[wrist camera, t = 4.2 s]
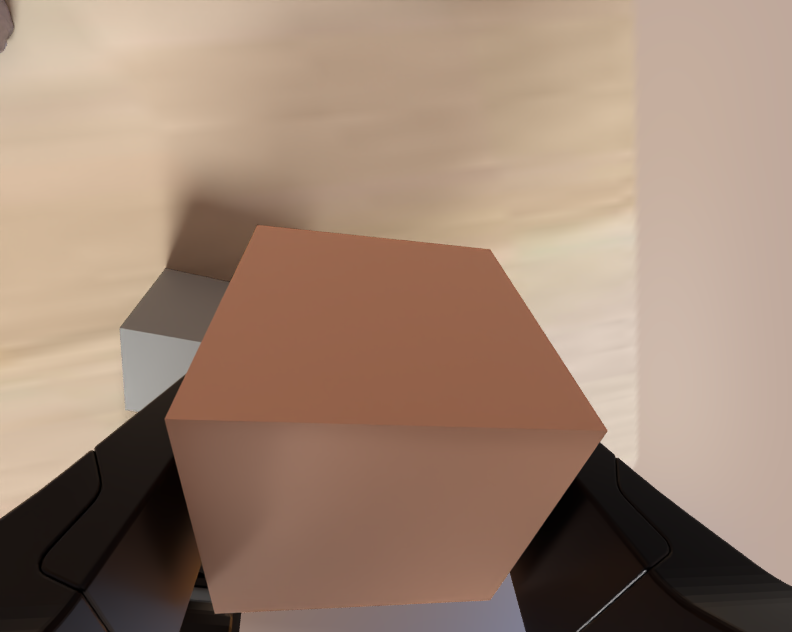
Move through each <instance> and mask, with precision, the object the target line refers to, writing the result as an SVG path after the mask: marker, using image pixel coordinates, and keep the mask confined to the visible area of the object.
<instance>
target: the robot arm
mask: <svg viewBox="0 0 792 632" xmlns="http://www.w3.org/2000/svg"><path fill="white" fill-rule="evenodd" d="M185 375H186V374H185ZM185 375H184V376H182V377H181V378H180V379H179V380H177V381H176V382H175V383H174V384H172V385H171V386H170V387H169V388H168V389H166V390H165V391H164V392H163V393H161V394H160V395H159V396H158V397H156V398H155V399H154V400H153V401H151V402H150V403H149V404H148V405H146V406H145V407H144V408H143V409H141V410H140V411H139V412H138V413H136V414H135V415H134V416H133V417H132V418H130V419H129V420H128V421H127V422H125V423H124V424H123V425H122V426H120V427H119V428H118V429H117V430H115V431H114V432H113V433H112V434H110V435H109V436H108V437H107V438H105V439H104V440H103V441H102V442H101V443H99V444H98V445H97V446H96V447H95V448H94V450H95V451H93V450H91V451H89V452H88V453H87V454H85V455H84V456H83V457H82V458H80V459H79V460H78V461H77V462H75V463H74V464H73V465H72V466H70V467H69V468H68V469H67V470H65V471H64V472H63V473H61V474H60V475H59V476H58V477H56V478H55V479H54V480H52V481H51V482H50V483H48V484H47V485H46V486H45V487H43V488H42V489H41V490H39V491H38V492H37V493H35V494H34V495H33V496H31V497H30V498H28V499H27V500H26V501H24V502H23V503H21V504H20V505H19V506H17V507H16V508H14V509H13V510H12V511H10V512H9V513H7V514H6V515H5V516H3V517H2V518H0V632H239V628H240V619H241V612H240V613H220V614H215V612H214V609H213V605H212V601H211V597H210V593H209V589H208V585H207V582H206V578H205V574H204V570H203V566H202V562H201V558H200V554H199V551H198V547H197V543H196V539H195V535H194V531H193V527H192V524H191V520H190V516H189V512H188V508H187V504H186V500H185V497H184V493H183V489H182V485H181V481H180V477H179V473H178V469H177V466H176V462H175V458H174V454H173V450H172V446H171V442H170V439H169V435H168V431H167V427H166V423H165V417H166V415H167V413H168V411H169V409H170V407H171V404H172V402H173V400H174V398H175V396H176V394H177V392H178V390H179V388H180V386H181V384H182V381H183V379H184V377H185ZM510 575H511V579H512V583H513V586H514V590H515V594H516V597H517V601H518V605H519V608H520V612H521V616H522V619H523V623H524V627H525V631H526V632H792V586H790V585H788V584H786V583H784V582H782V581H781V580H779V579H777V578H776V577H774V576H772V575H771V574H769V573H768V572H766V571H765V570H763V569H762V568H761V567H759V566H758V565H756V564H755V563H754V562H752V561H751V560H750V559H748V558H747V557H746V556H744V555H743V554H742V553H740V552H739V551H738V550H736V549H735V548H734V547H732V546H731V545H730V544H728V543H727V542H726V541H724V540H723V539H721V538H720V537H719V536H717V535H716V534H715V533H713V532H712V531H711V530H709V529H708V528H707V527H705V526H704V525H703V524H701V523H700V522H699V521H697V520H696V519H695V518H693V517H692V516H690V515H689V514H688V513H686V512H685V511H684V510H683V509H681V508H680V507H679V506H677V505H676V504H675V503H674V502H672V501H671V500H670V499H668V498H667V497H666V496H664V495H663V494H662V493H660V492H659V491H658V490H657V489H655V488H654V487H653V486H652V485H650V484H649V483H648V482H647V481H646V480H644V479H643V478H642V477H641V476H639V475H638V474H637V473H636V472H634V471H633V470H632V469H631V468H630V467H629V466H627V465H626V464H625V463H624V462H623V461H622V460H620V459H619V458H615V455H614V454H613V453H612V452H611V451H610V450H608V449H607V448H606V447H605V446H604V445H602V444H601V443H599V444H598V445H597V447H596V448H595V450H594V451H593V453H592V454H591V456H590V457H589V458H588V460H587V461H586V463H585V464H584V466H583V467H582V469H581V470H580V471H579V473H578V474H577V476H576V477H575V479H574V480H573V481H572V483H571V484H570V486H569V487H568V489H567V490H566V492H565V493H564V494H563V496H562V497H561V499H560V500H559V502H558V503H557V505H556V506H555V507H554V509H553V510H552V512H551V513H550V515H549V516H548V518H547V519H546V520H545V522H544V523H543V525H542V526H541V528H540V529H539V530H538V532H537V533H536V535H535V536H534V538H533V539H532V541H531V542H530V543H529V545H528V546H527V548H526V549H525V551H524V552H523V554H522V555H521V556H520V558H519V559H518V561H517V562H516V564H515V565H514V566H513V568H512V569H511V571H510Z"/></svg>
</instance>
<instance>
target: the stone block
mask: <svg viewBox="0 0 792 632" xmlns="http://www.w3.org/2000/svg"><path fill="white" fill-rule="evenodd" d="M13 28H14V26H13V22H12V19H11V15H10V11H9V9H8V7H7V5H6V3H5V1H4V0H0V53H1V52H3V51H4V49H5V47H6V46H7V39H8V38H9V36H10V35H11V34H12V32H13Z"/></svg>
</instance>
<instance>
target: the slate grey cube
mask: <svg viewBox="0 0 792 632" xmlns="http://www.w3.org/2000/svg"><path fill="white" fill-rule="evenodd" d="M229 283H230V282H227V281H222V280H218V279H213V278H209V277H204V276H199V275H195V274H190V273H185V272H181V271H176V270H172V269H167V268H165V270H164V271H163V272H162V274H161V275H160V276H159V277H158V279H157V280H156V281H155V283H154V284H153V285H152V287H151V288H150V289H149V290H148V292H147V293H146V294H145V296H144V297H143V298H142V300H141V301H140V302H139V303H138V305H137V306H136V307H135V309H134V310H133V311H132V313H131V314H130V315H129V316H128V318H127V319H126V320H125V322H124V323H123V324H122V325H121V327H120V340H121V354H122V368H123V382H124V396H125V410H129V411H137V412H139V411H140V410H141V409H143V408H144V407H145V406H146V405H148V404H149V403H150V402H151V401H153V400H154V399H155V398H156V397H158V396H159V395H160V394H161V393H163V392H164V391H165V390H166V389H168V388H169V387H170V386H171V385H172V384H174V383H175V382H176V381H177V380H179V379H180V378H181V377H182V376H184V375H185V374H186V373H187V371H188V369H189V367H190V365H191V363H192V361H193V358H194V356H195V354H196V352H197V350H198V348H199V346H200V344H201V342H202V340H203V338H204V335H205V333H206V331H207V329H208V327H209V325H210V323H211V321H212V319H213V317H214V315H215V312H216V310H217V308H218V306H219V304H220V302H221V300H222V298H223V296H224V294H225V292H226V289H227V287H228V285H229Z"/></svg>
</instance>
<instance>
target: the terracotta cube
mask: <svg viewBox="0 0 792 632" xmlns="http://www.w3.org/2000/svg"><path fill="white" fill-rule="evenodd" d="M165 423H166V427H167V431H168V435H169V439H170V442H171V446H172V450H173V454H174V458H175V462H176V466H177V469H178V473H179V477H180V481H181V485H182V489H183V493H184V497H185V500H186V504H187V508H188V512H189V516H190V520H191V524H192V527H193V531H194V535H195V539H196V543H197V547H198V551H199V554H200V558H201V562H202V566H203V570H204V574H205V578H206V582H207V585H208V589H209V593H210V597H211V601H212V605H213V609H214V612H215V614H220V613H240V612H258V611H259V612H260V611H281V610H299V609H300V610H301V609H321V608H341V607H360V606H382V605H402V604H422V603H441V602H463V601H483V600H491V598H492V596H493V595H494V594H495V592H496V591H497V590H498V588H499V587H500V585H501V584H502V582H503V581H504V579H505V578H506V577H507V575H508V574H509V572H510V571H511V569H512V568H513V566H514V565H515V564H516V562H517V561H518V559H519V558H520V556H521V555H522V554H523V552H524V551H525V549H526V548H527V546H528V545H529V543H530V542H531V541H532V539H533V538H534V536H535V535H536V533H537V532H538V530H539V529H540V528H541V526H542V525H543V523H544V522H545V520H546V519H547V518H548V516H549V515H550V513H551V512H552V510H553V509H554V507H555V506H556V505H557V503H558V502H559V500H560V499H561V497H562V496H563V494H564V493H565V492H566V490H567V489H568V487H569V486H570V484H571V483H572V481H573V480H574V479H575V477H576V476H577V474H578V473H579V471H580V470H581V469H582V467H583V466H584V464H585V463H586V461H587V460H588V458H589V457H590V456H591V454H592V453H593V451H594V450H595V448H596V447H597V445H598V444H599V443H600V441H601V440H602V438H603V437H604V435H605V434H606V433H607V429H606V428H605V426H604V424H603V423H602V421H601V420H600V418H599V417H598V415H597V414H596V412H595V411H594V409H593V407H592V406H591V404H590V403H589V401H588V400H587V398H586V397H585V395H584V394H583V392H582V390H581V389H580V387H579V386H578V384H577V383H576V381H575V380H574V378H573V377H572V375H571V373H570V372H569V370H568V369H567V367H566V366H565V364H564V363H563V361H562V360H561V358H560V356H559V355H558V353H557V352H556V350H555V349H554V347H553V346H552V344H551V343H550V341H549V340H548V338H547V336H546V335H545V333H544V332H543V330H542V329H541V327H540V326H539V324H538V323H537V321H536V319H535V318H534V316H533V315H532V313H531V312H530V310H529V309H528V307H527V306H526V304H525V302H524V301H523V299H522V298H521V296H520V295H519V293H518V292H517V290H516V289H515V287H514V285H513V284H512V282H511V281H510V279H509V278H508V276H507V275H506V273H505V272H504V270H503V268H502V267H501V265H500V264H499V262H498V261H497V259H496V258H495V256H494V255H493V253H492V251H491V250H490V249H481V248H472V247H462V246H453V245H443V244H434V243H424V242H415V241H405V240H396V239H386V238H377V237H367V236H358V235H348V234H339V233H329V232H320V231H310V230H301V229H291V228H282V227H272V226H262V225H257V227H256V229H255V231H254V233H253V235H252V237H251V239H250V241H249V243H248V246H247V248H246V250H245V252H244V254H243V256H242V258H241V260H240V262H239V264H238V266H237V269H236V271H235V273H234V275H233V277H232V279H231V281H230V283H229V285H228V287H227V289H226V292H225V294H224V296H223V298H222V300H221V302H220V304H219V306H218V308H217V310H216V312H215V315H214V317H213V319H212V321H211V323H210V325H209V327H208V329H207V331H206V333H205V335H204V338H203V340H202V342H201V344H200V346H199V348H198V350H197V352H196V354H195V356H194V358H193V361H192V363H191V365H190V367H189V369H188V371H187V373H186V375H185V377H184V379H183V381H182V384H181V386H180V388H179V390H178V392H177V394H176V396H175V398H174V400H173V402H172V404H171V407H170V409H169V411H168V413H167V415H166V417H165Z"/></svg>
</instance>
